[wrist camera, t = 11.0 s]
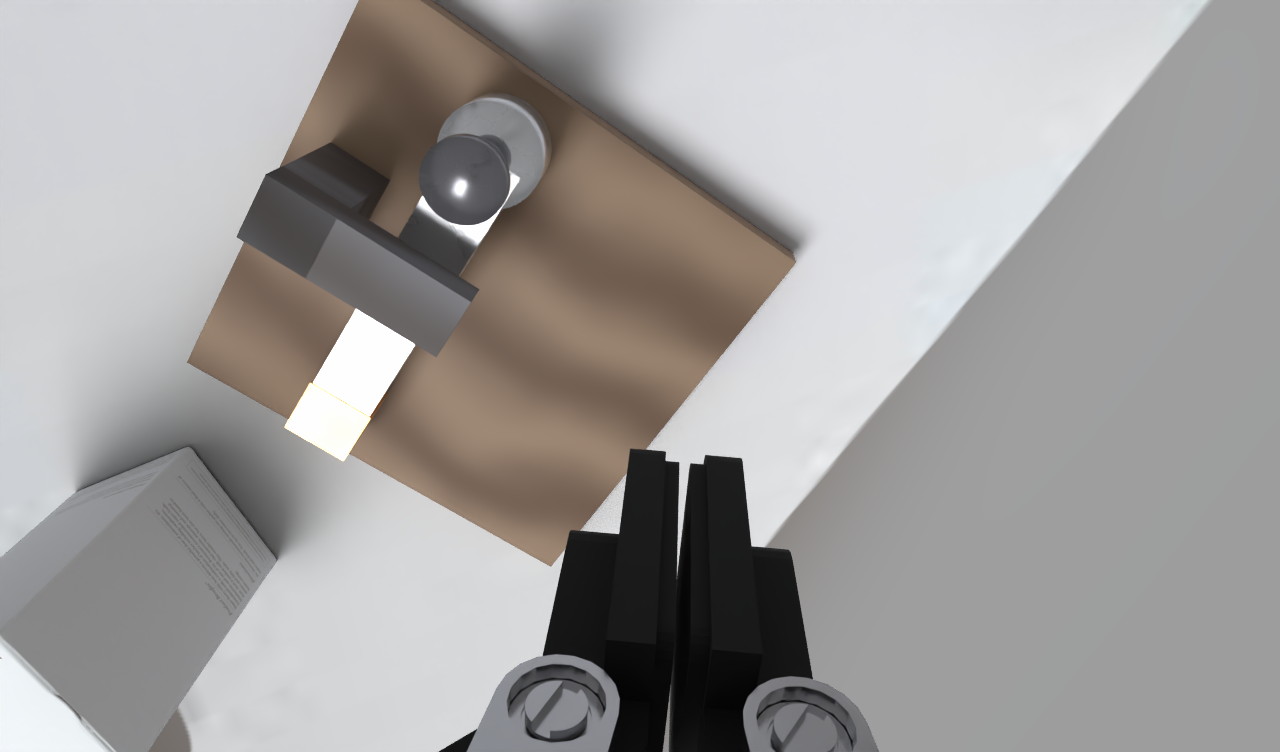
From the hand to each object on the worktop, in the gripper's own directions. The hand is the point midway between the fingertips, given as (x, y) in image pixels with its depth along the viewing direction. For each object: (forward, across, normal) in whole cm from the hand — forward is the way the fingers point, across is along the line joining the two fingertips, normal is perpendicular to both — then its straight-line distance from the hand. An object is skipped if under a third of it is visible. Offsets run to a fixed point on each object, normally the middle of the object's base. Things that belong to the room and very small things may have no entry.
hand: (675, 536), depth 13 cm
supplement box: (+29, +28, +24) cm, 47 cm away
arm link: (+27, +12, +6) cm, 31 cm away
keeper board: (+29, +10, +8) cm, 32 cm away
